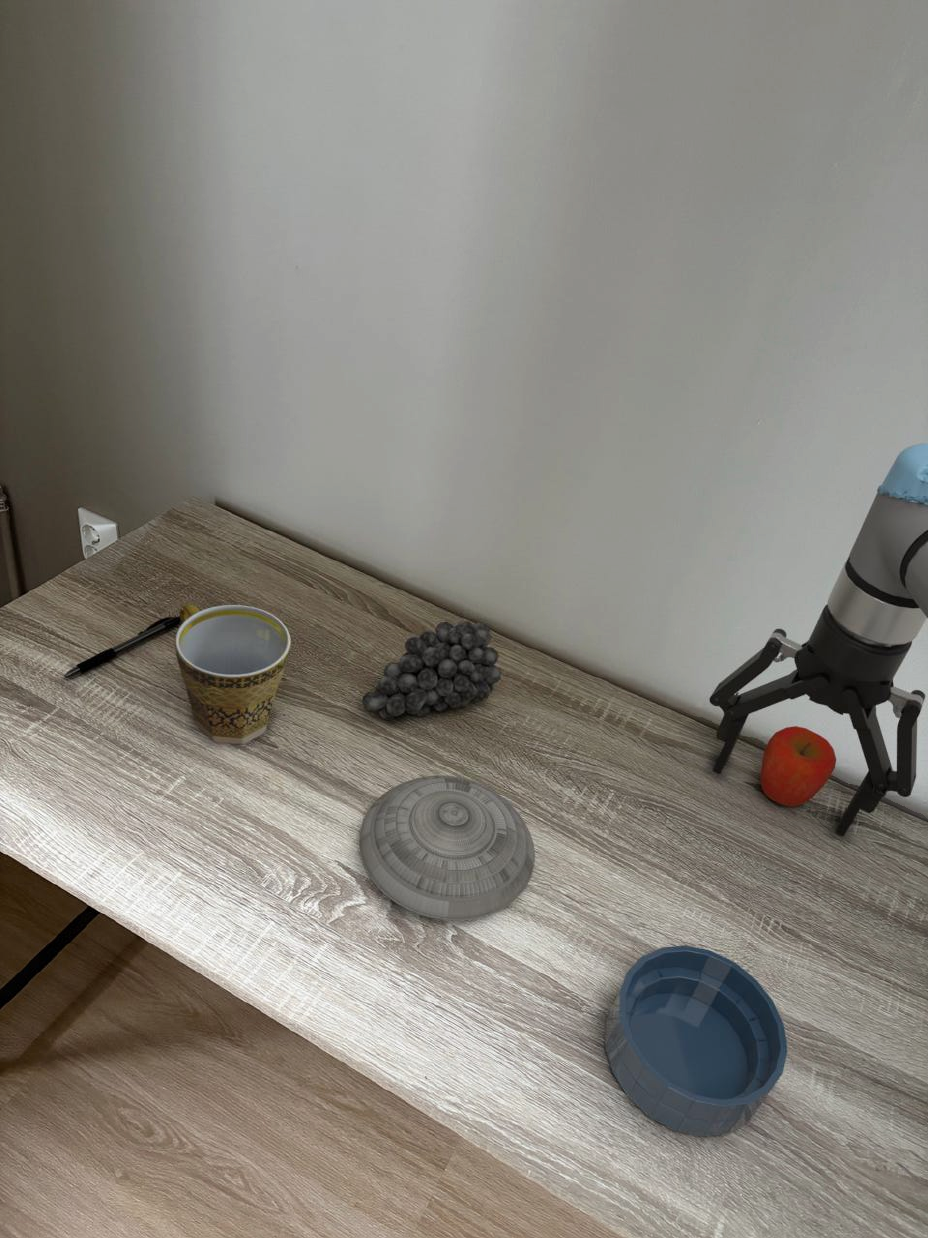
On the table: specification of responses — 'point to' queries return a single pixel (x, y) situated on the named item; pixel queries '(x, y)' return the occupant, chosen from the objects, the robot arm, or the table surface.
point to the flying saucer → (447, 848)
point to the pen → (124, 646)
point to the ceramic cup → (231, 668)
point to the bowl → (695, 1040)
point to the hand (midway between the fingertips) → (780, 794)
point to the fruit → (438, 672)
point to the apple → (796, 765)
